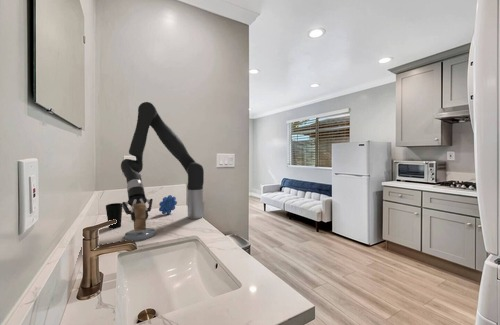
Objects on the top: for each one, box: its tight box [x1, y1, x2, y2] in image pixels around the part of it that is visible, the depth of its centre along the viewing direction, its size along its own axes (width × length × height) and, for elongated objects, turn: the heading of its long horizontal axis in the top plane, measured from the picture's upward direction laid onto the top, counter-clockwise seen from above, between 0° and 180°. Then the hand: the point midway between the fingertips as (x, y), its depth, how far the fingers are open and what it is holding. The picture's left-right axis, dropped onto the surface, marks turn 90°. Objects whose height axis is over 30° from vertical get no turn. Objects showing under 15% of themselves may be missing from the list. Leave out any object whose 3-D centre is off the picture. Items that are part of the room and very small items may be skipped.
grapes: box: [158, 194, 178, 215], centre depth 144 cm, size 12×7×12 cm, turn 131°
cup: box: [105, 202, 123, 230], centre depth 119 cm, size 8×8×12 cm
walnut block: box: [133, 203, 147, 231], centre depth 107 cm, size 4×4×12 cm
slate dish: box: [124, 227, 156, 242], centre depth 107 cm, size 13×13×2 cm
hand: (140, 219), depth 105 cm, fingers closed on walnut block, 4 cm apart
